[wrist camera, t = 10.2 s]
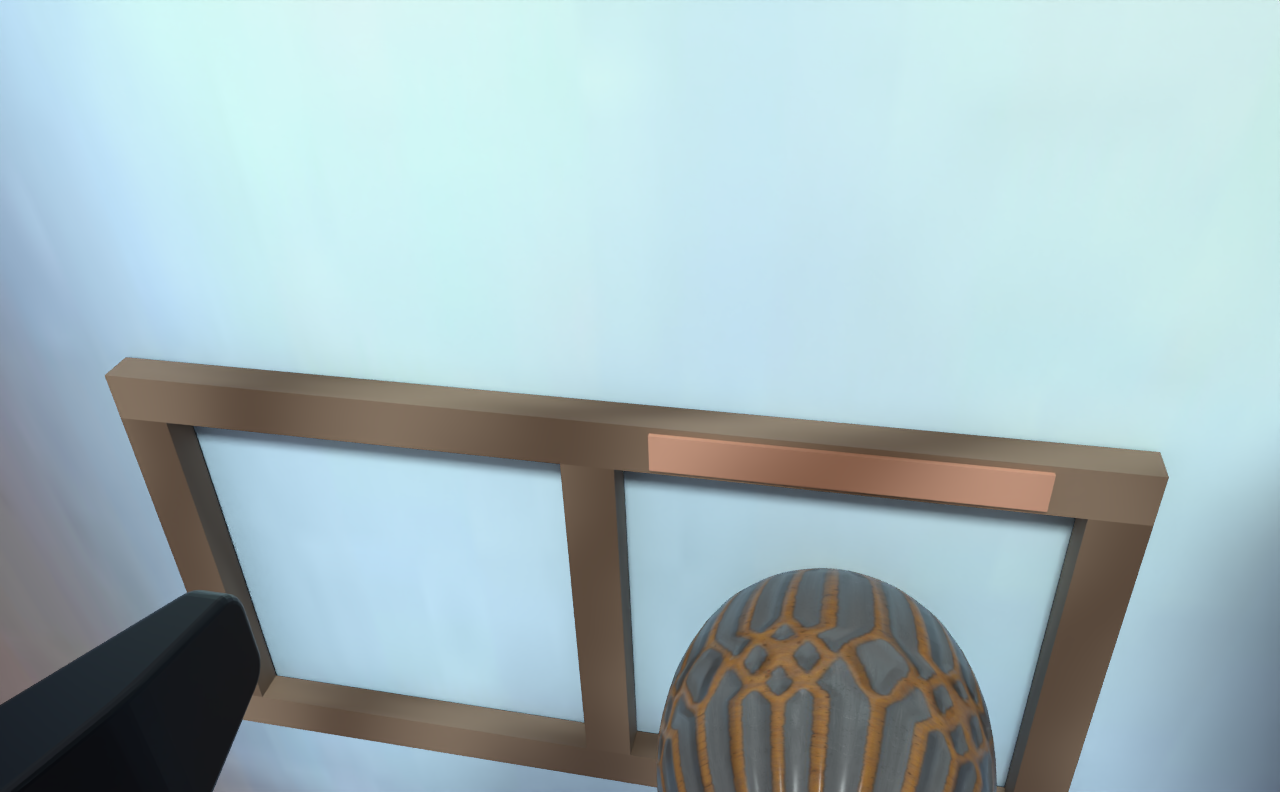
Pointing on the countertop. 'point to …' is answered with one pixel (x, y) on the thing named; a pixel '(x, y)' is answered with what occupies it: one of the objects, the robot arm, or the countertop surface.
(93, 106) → the countertop surface
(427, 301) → the countertop surface
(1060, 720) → the rail frame
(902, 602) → the vase
